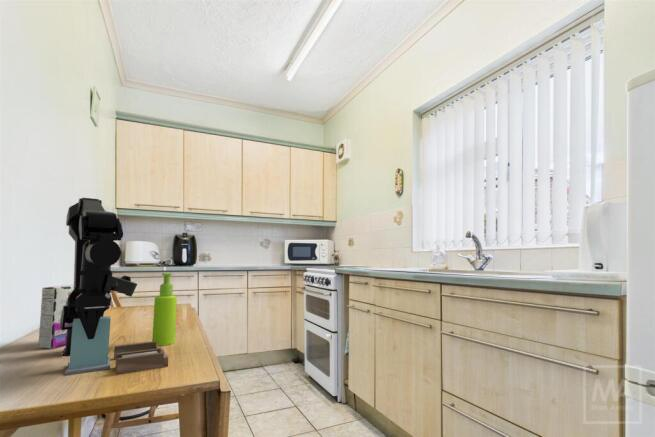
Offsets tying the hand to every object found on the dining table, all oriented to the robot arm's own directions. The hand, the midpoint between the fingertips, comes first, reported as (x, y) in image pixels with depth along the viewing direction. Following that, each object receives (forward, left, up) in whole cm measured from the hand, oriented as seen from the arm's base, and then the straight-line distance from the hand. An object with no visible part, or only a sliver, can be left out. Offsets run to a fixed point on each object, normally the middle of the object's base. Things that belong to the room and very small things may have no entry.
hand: (91, 335), depth 79 cm
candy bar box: (-29, -6, -7) cm, 31 cm away
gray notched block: (+6, +10, -7) cm, 14 cm away
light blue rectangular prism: (0, 0, -6) cm, 6 cm away
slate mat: (0, 0, -7) cm, 7 cm away
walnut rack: (+2, +10, -7) cm, 12 cm away
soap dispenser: (-15, +18, -7) cm, 24 cm away
